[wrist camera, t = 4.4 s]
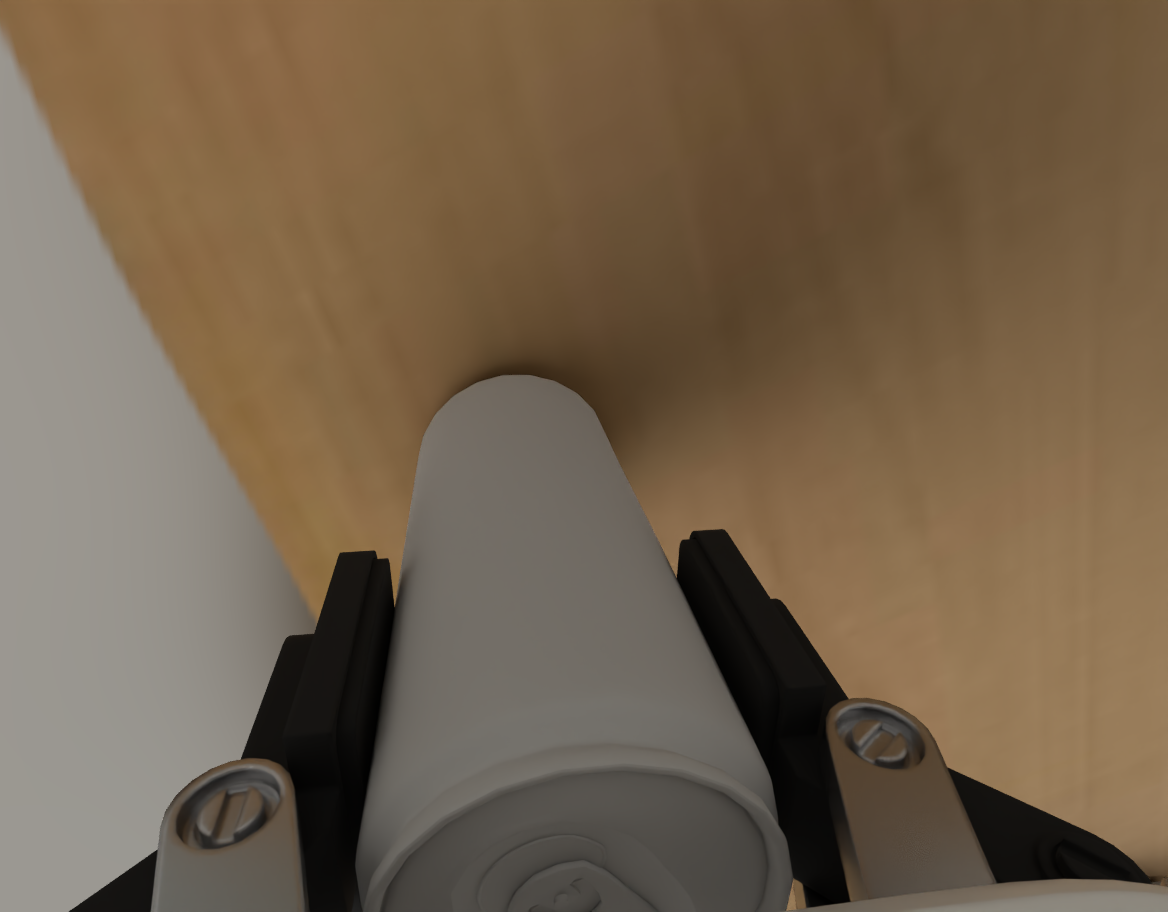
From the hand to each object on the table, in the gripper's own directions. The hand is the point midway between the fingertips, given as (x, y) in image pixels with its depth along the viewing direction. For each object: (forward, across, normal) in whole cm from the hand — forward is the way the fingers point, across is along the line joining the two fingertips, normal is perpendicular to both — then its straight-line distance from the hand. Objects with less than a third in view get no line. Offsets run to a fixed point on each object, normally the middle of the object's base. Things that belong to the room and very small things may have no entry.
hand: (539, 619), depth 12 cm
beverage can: (+7, 0, 0) cm, 7 cm away
